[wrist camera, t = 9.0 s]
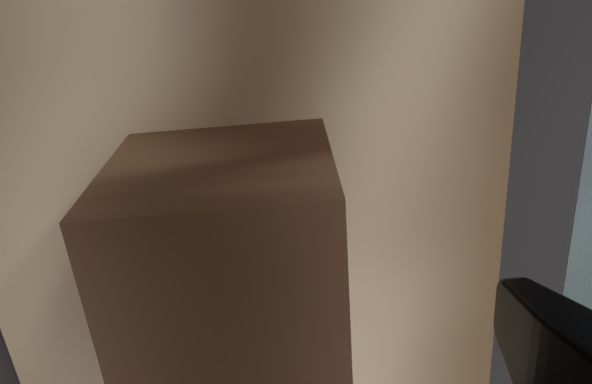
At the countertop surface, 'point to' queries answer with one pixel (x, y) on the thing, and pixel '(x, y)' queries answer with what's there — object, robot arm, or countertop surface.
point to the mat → (531, 152)
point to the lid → (254, 189)
